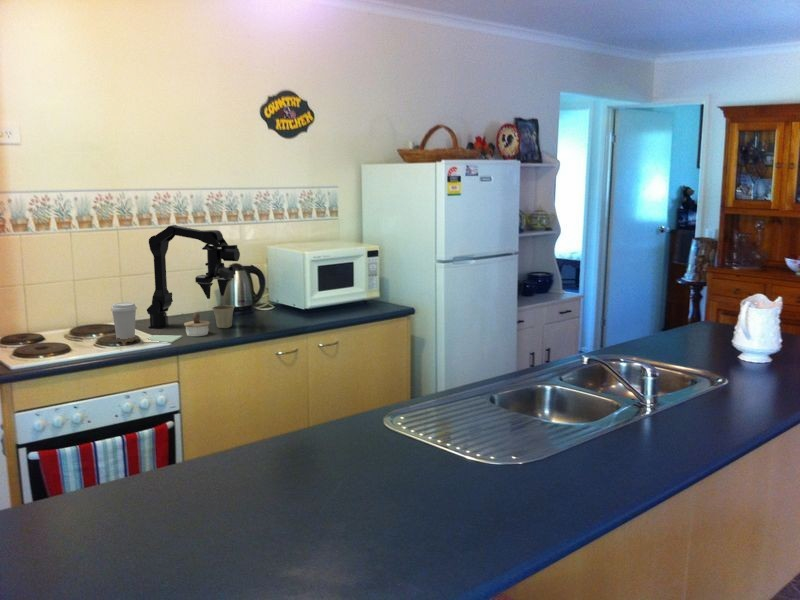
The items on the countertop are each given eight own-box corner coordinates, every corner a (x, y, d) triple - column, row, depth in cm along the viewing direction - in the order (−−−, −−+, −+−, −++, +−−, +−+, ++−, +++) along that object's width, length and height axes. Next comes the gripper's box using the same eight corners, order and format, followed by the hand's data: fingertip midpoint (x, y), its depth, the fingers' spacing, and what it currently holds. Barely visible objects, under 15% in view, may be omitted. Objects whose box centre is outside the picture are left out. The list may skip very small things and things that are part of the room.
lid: (180, 326, 297) (179, 315, 296) (189, 322, 307) (189, 310, 306) (204, 327, 296) (203, 315, 295) (212, 322, 306) (212, 311, 305)
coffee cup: (107, 342, 286) (105, 304, 284) (126, 338, 295) (124, 301, 292) (124, 345, 282) (122, 306, 280) (144, 340, 290) (141, 303, 288)
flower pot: (222, 330, 311) (221, 310, 309) (208, 327, 316) (207, 307, 315) (239, 326, 318) (239, 307, 317) (225, 323, 324) (224, 304, 322)
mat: (141, 342, 287) (141, 340, 287) (153, 336, 298) (153, 335, 297) (171, 343, 286) (171, 341, 286) (182, 337, 297) (182, 335, 296)
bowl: (183, 336, 298) (183, 326, 298) (191, 331, 307) (190, 322, 306) (203, 336, 298) (203, 327, 297) (210, 332, 306) (210, 322, 305)
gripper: (216, 264, 295) (217, 302, 298) (243, 259, 312) (244, 295, 315) (193, 262, 300) (195, 300, 302) (222, 258, 316) (223, 293, 319)
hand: (215, 297), depth 309 cm, fingers open, 9 cm apart
